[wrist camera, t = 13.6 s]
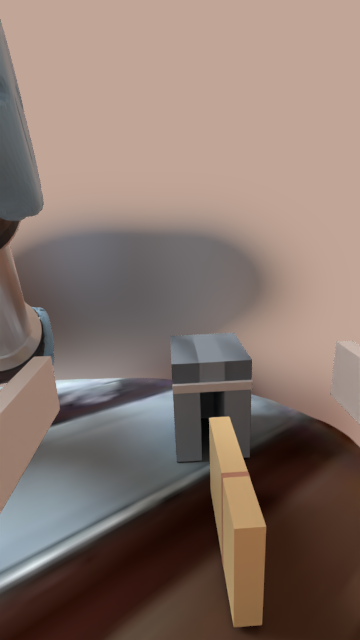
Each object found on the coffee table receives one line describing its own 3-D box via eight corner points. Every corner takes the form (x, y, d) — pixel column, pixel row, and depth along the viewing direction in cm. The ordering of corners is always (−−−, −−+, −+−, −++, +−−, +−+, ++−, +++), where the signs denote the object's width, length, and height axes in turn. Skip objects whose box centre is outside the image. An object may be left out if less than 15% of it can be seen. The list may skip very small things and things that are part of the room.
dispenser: (250, 460, 47) (252, 361, 43) (176, 464, 47) (171, 366, 42) (233, 413, 59) (234, 332, 55) (174, 416, 59) (170, 336, 55)
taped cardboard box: (262, 625, 27) (266, 526, 24) (233, 627, 27) (233, 529, 24) (229, 488, 42) (229, 416, 39) (210, 490, 42) (208, 417, 39)
